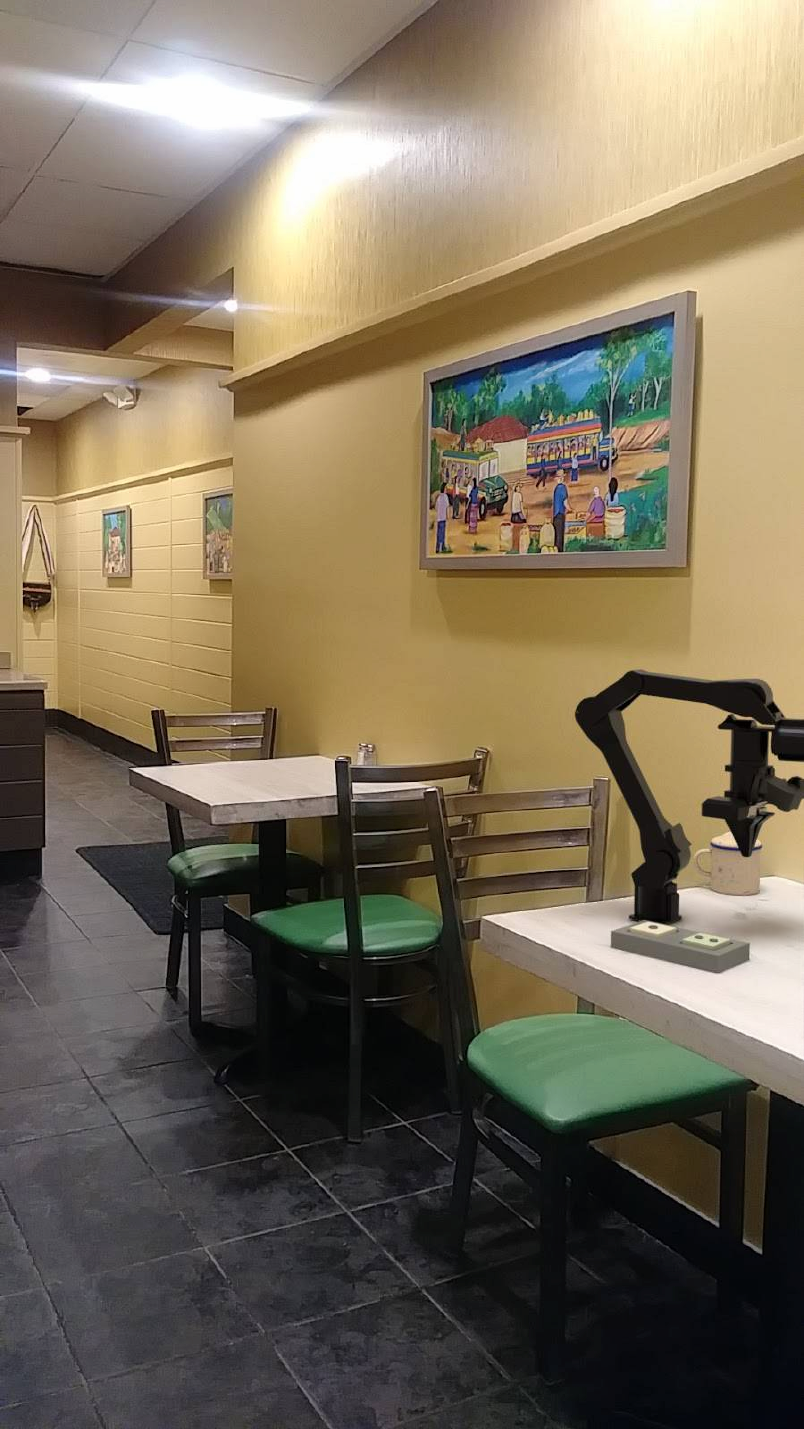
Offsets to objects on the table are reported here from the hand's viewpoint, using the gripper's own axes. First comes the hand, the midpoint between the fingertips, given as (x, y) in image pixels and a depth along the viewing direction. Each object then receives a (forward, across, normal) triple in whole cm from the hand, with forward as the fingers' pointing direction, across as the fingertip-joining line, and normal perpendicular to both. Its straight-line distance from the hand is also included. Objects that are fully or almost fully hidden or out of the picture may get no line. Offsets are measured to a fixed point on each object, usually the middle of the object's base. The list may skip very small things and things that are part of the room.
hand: (746, 856), depth 184 cm
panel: (+12, -18, +1) cm, 22 cm away
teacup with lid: (+12, +23, +16) cm, 31 cm away
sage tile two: (+11, -18, -4) cm, 21 cm away
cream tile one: (+11, -18, +6) cm, 22 cm away
